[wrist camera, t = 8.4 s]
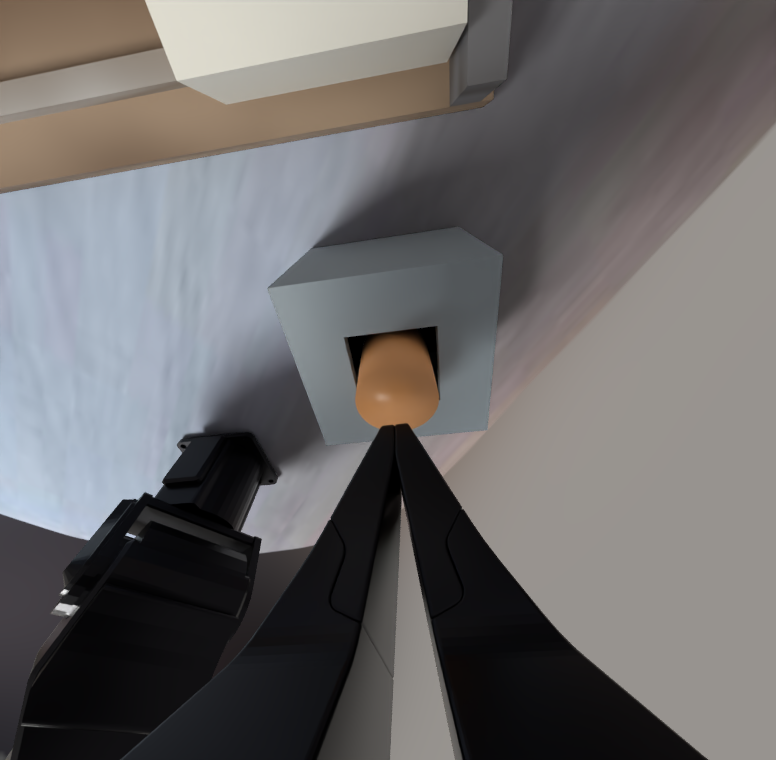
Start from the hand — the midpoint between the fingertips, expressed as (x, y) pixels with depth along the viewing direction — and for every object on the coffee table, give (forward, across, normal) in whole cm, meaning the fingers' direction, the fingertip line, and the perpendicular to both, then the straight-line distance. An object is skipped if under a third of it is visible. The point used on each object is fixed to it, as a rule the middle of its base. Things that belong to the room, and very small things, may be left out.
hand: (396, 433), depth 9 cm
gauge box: (+10, 0, 0) cm, 11 cm away
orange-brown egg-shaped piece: (+5, 0, 0) cm, 5 cm away
